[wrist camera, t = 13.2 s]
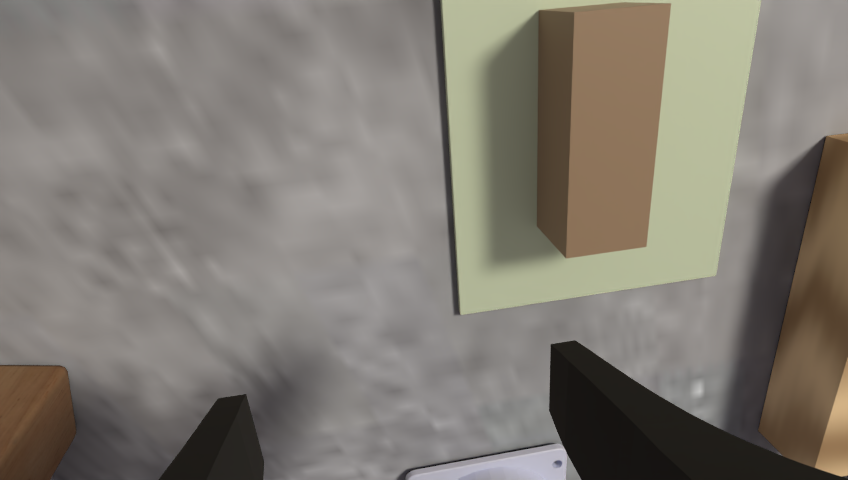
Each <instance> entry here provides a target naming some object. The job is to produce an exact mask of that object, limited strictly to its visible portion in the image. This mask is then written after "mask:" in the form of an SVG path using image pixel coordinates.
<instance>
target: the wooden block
mask: <svg viewBox="0 0 848 480" xmlns="http://www.w3.org/2000/svg"><path fill="white" fill-rule="evenodd" d="M75 435H76V425H75V419H74V412H73V405H72V398H71V392H70V385H69V378H68V371H67V370H66V368H65V367H62V366H40V365H0V480H50V479H51V477H52V475H53V474H54V472H55V470H56V468H57V467H58V465H59V463H60V461H61V460H62V458H63V456H64V454H65V453H66V451H67V449H68V448H69V446H70V444H71V442H72V441H73V439H74V437H75Z"/></svg>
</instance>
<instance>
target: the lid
mask: <svg viewBox="0 0 848 480" xmlns="http://www.w3.org/2000/svg"><path fill="white" fill-rule="evenodd" d="M760 4H761V0H440V5H441V22H442V38H443V55H444V71H445V88H446V104H447V121H448V137H449V154H450V170H451V187H452V203H453V220H454V236H455V253H456V269H457V286H458V302H459V312H460V315H464V314H471V313H477V312H483V311H490V310H496V309H503V308H509V307H516V306H522V305H529V304H535V303H542V302H548V301H555V300H561V299H568V298H574V297H581V296H587V295H594V294H600V293H607V292H613V291H620V290H626V289H633V288H639V287H646V286H652V285H659V284H665V283H672V282H678V281H685V280H691V279H698V278H704V277H711V276H716V272H717V266H718V260H719V254H720V248H721V242H722V236H723V230H724V224H725V218H726V211H727V205H728V199H729V193H730V187H731V181H732V175H733V169H734V163H735V157H736V151H737V144H738V138H739V132H740V126H741V120H742V114H743V108H744V102H745V96H746V90H747V83H748V77H749V71H750V65H751V59H752V53H753V47H754V41H755V35H756V29H757V23H758V16H759V10H760Z"/></svg>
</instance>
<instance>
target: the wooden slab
mask: <svg viewBox="0 0 848 480" xmlns="http://www.w3.org/2000/svg"><path fill="white" fill-rule="evenodd" d="M758 431H759V432H760V433H761V434H762V435H763V436H764V437H765V438H766V439H767V440H768V441H769V442H770V443H771V444H772V445H773V446H774V447H775V448H776V449H777V450H778V451H779V452H780V453H781V454H782V455H783V456H784V457H786V458H789V459H791V460H794V461H797V462H800V463H802V464H805V465H808V466H811V467H814V468H817V469H820V470H823V471H826V472H829V473H832V474H835V475H838V476H841V477H842V476H847V475H848V133H847V134H839V135H831V136H826V140H825V144H824V148H823V153H822V157H821V161H820V166H819V170H818V174H817V179H816V183H815V187H814V192H813V196H812V200H811V205H810V209H809V213H808V218H807V222H806V226H805V231H804V235H803V239H802V243H801V248H800V252H799V256H798V261H797V265H796V269H795V274H794V278H793V282H792V287H791V291H790V295H789V300H788V304H787V308H786V313H785V317H784V321H783V326H782V330H781V334H780V339H779V343H778V347H777V352H776V356H775V360H774V365H773V369H772V373H771V378H770V382H769V386H768V390H767V395H766V399H765V403H764V408H763V412H762V416H761V421H760V425H759V429H758Z"/></svg>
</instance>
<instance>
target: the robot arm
mask: <svg viewBox="0 0 848 480" xmlns="http://www.w3.org/2000/svg"><path fill="white" fill-rule="evenodd" d="M549 411H550V414H551V416H552V419H553V421H554V424H555V427H556V429H557V432H558V434H559V436H560V439H561V441H562V444H563V446H564V447H563V446H562V445H561V444H552V445H546V446H541V447H536V448H530V449H525V450H519V451H514V452H508V453H503V454H498V455H492V456H487V457H481V458H476V459H471V460H465V461H460V462H454V463H449V464H443V465H438V466H433V467H427V468H422V469H416V470H413V471H410V472H409V473H408V474H407V475H406V479H405V480H566V462H567V454H568V456H569V458H570V460H571V461H572V463H573V465H574V467H575V469H576V470H577V472H578V474H579V476H580V478H581V479H582V480H848V479H847V478H844V477H841V476H838V475H835V474H832V473H829V472H826V471H823V470H820V469H817V468H814V467H811V466H808V465H805V464H802V463H800V462H797V461H794V460H791V459H789V458H786V457H783V456H781V455H778V454H776V453H773V452H771V451H769V450H766V449H764V448H761V447H759V446H756V445H754V444H752V443H749V442H747V441H745V440H742V439H740V438H738V437H736V436H733V435H731V434H729V433H727V432H725V431H723V430H721V429H719V428H717V427H715V426H713V425H711V424H709V423H707V422H705V421H703V420H701V419H699V418H697V417H695V416H693V415H691V414H689V413H688V412H686V411H684V410H682V409H681V408H679V407H677V406H675V405H674V404H672V403H670V402H668V401H667V400H665V399H663V398H662V397H660V396H658V395H657V394H655V393H653V392H652V391H650V390H648V389H647V388H645V387H644V386H642V385H641V384H639V383H638V382H636V381H634V380H633V379H631V378H630V377H628V376H627V375H625V374H624V373H622V372H621V371H619V370H618V369H616V368H615V367H613V366H612V365H611V364H609V363H608V362H606V361H605V360H603V359H602V358H600V357H599V356H597V355H596V354H595V353H593V352H592V351H590V350H589V349H587V348H586V347H584V346H583V345H581V344H580V343H578V342H577V341H569V342H563V343H556V344H551V361H550V404H549ZM566 452H567V453H566ZM555 461H556V462H555ZM263 472H264V459H263V456H262V452H261V448H260V445H259V441H258V437H257V433H256V430H255V426H254V422H253V418H252V415H251V411H250V407H249V403H248V400H247V396H246V394H243V395H237V396H231V397H225V398H219V399H218V400H217V401H216V402H215V404H214V405H213V406H212V408H211V409H210V410H209V412H208V413H207V415H206V416H205V418H204V419H203V420H202V422H201V423H200V425H199V426H198V427H197V429H196V430H195V432H194V433H193V435H192V436H191V437H190V439H189V440H188V441H187V443H186V444H185V446H184V447H183V448H182V450H181V451H180V452H179V454H178V455H177V456H176V458H175V459H174V460H173V462H172V463H171V464H170V466H169V467H168V468H167V470H166V471H165V472H164V474H163V475H162V476H161V477H160V479H159V480H263Z"/></svg>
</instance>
